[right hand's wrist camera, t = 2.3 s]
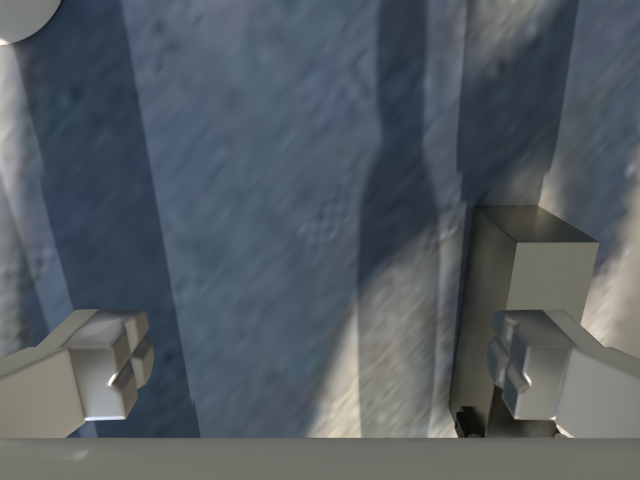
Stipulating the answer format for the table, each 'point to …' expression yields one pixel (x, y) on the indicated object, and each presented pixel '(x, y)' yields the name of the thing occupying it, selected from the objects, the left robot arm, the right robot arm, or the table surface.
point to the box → (514, 300)
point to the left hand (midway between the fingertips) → (497, 413)
